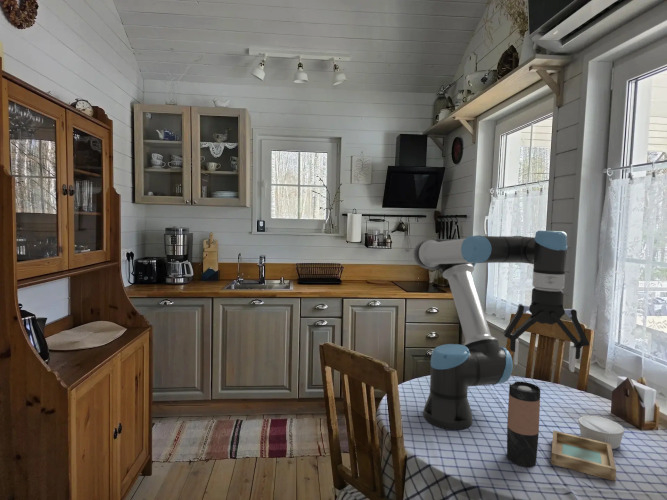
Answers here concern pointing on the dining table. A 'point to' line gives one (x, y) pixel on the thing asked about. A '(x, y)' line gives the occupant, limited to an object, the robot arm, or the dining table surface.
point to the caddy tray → (583, 455)
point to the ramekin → (601, 430)
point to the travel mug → (523, 423)
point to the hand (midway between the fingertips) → (542, 366)
